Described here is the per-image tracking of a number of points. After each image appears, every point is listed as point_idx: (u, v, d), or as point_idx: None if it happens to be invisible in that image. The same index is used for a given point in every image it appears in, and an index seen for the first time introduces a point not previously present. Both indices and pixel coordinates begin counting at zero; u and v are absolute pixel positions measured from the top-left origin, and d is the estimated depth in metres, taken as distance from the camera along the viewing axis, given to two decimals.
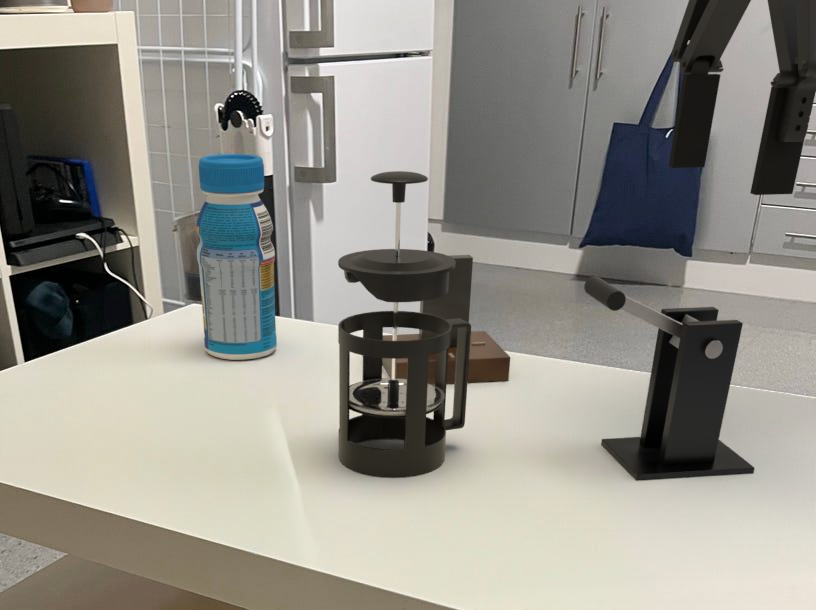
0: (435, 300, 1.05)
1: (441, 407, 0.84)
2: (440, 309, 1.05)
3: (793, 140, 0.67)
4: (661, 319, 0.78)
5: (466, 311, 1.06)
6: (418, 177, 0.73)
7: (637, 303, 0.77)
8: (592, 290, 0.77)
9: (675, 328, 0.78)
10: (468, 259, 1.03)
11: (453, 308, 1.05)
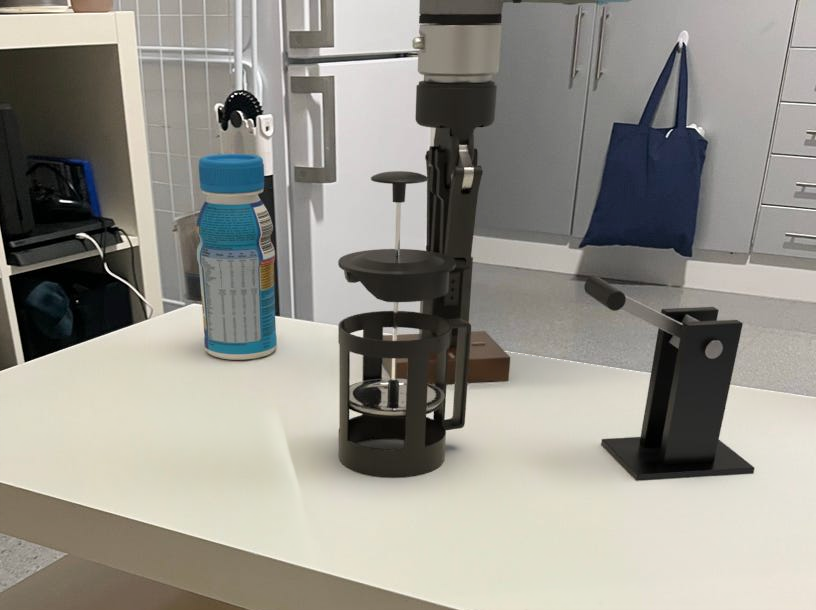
0: None
1: (441, 407, 0.84)
2: None
3: (450, 304, 1.03)
4: (661, 319, 0.78)
5: (466, 311, 1.06)
6: (418, 177, 0.73)
7: (637, 303, 0.77)
8: (592, 290, 0.77)
9: (675, 328, 0.78)
10: None
11: None
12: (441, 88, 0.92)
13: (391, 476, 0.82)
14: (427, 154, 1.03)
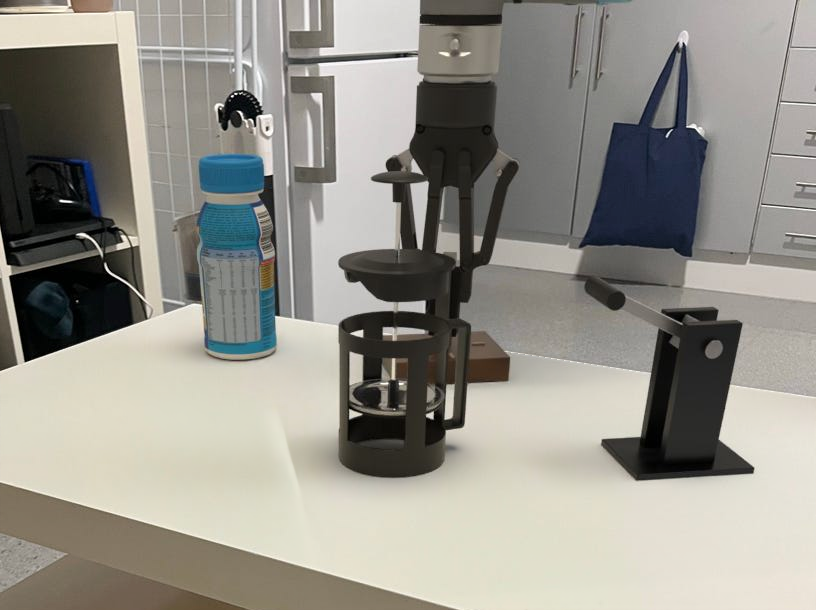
0: (450, 301, 1.04)
1: (441, 407, 0.84)
2: None
3: None
4: (661, 319, 0.78)
5: None
6: (418, 177, 0.73)
7: (637, 303, 0.77)
8: (592, 290, 0.77)
9: (675, 328, 0.78)
10: (456, 255, 1.05)
11: None
12: (485, 88, 0.93)
13: (391, 476, 0.82)
14: (394, 161, 0.98)
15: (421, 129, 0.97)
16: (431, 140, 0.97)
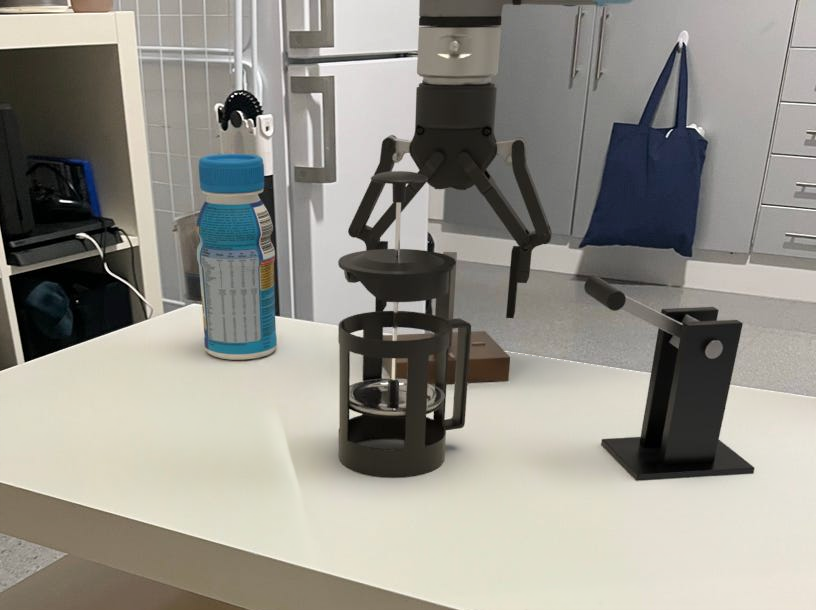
0: (450, 301, 1.04)
1: (441, 407, 0.84)
2: (450, 309, 1.05)
3: None
4: (661, 319, 0.78)
5: (453, 305, 1.08)
6: (418, 177, 0.73)
7: (637, 303, 0.77)
8: (592, 290, 0.77)
9: (675, 328, 0.78)
10: (456, 255, 1.05)
11: (452, 305, 1.06)
12: (485, 89, 0.93)
13: (391, 476, 0.82)
14: (391, 144, 0.98)
15: (421, 131, 0.97)
16: (431, 142, 0.97)
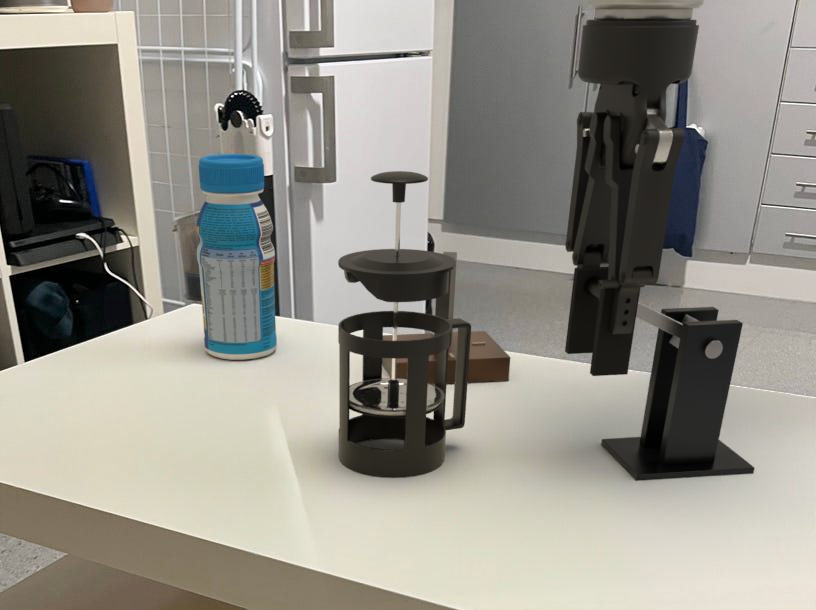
0: (450, 301, 1.04)
1: (441, 407, 0.84)
2: (450, 309, 1.05)
3: (622, 333, 0.74)
4: (661, 319, 0.78)
5: (453, 305, 1.08)
6: (418, 177, 0.73)
7: None
8: (592, 290, 0.77)
9: (675, 328, 0.78)
10: (456, 255, 1.05)
11: (452, 305, 1.06)
12: (625, 26, 0.65)
13: (391, 476, 0.82)
14: (581, 118, 0.75)
15: (602, 84, 0.72)
16: (604, 99, 0.72)
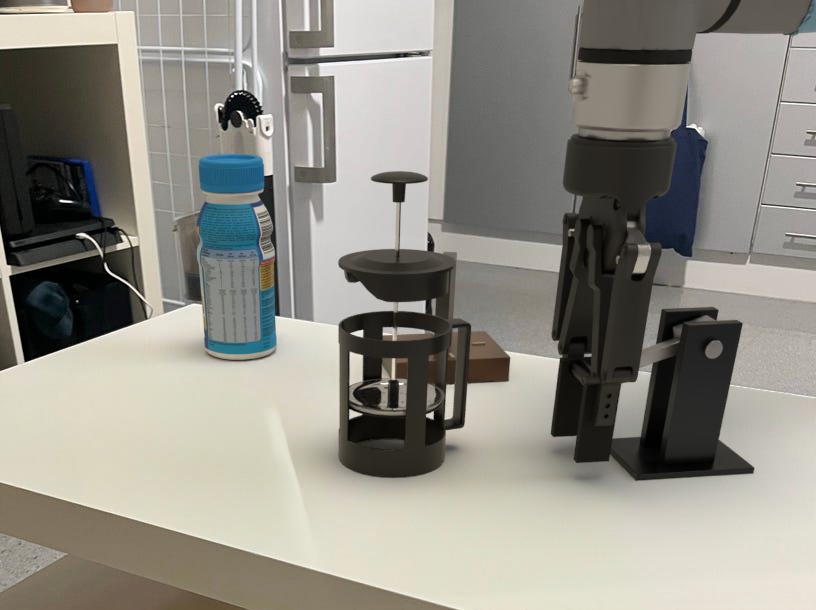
0: (450, 301, 1.04)
1: (441, 407, 0.84)
2: (450, 309, 1.05)
3: (603, 424, 0.78)
4: (651, 355, 0.79)
5: (453, 305, 1.08)
6: (418, 177, 0.73)
7: None
8: (577, 380, 0.81)
9: (670, 351, 0.79)
10: (456, 255, 1.05)
11: (452, 305, 1.06)
12: (607, 147, 0.69)
13: (391, 476, 0.82)
14: (566, 218, 0.79)
15: None
16: (587, 206, 0.75)
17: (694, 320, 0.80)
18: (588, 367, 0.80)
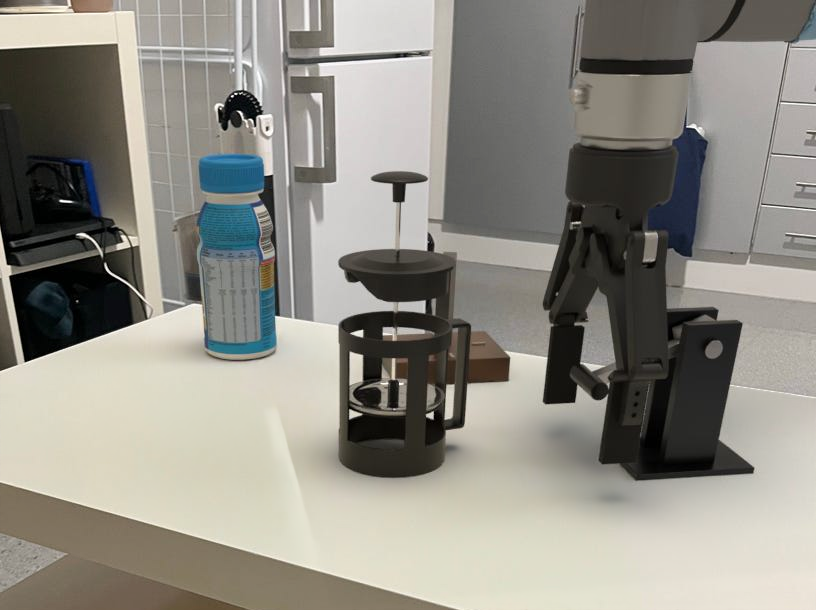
0: (450, 301, 1.04)
1: (441, 407, 0.84)
2: (450, 309, 1.05)
3: (631, 424, 0.74)
4: None
5: (453, 305, 1.08)
6: (418, 177, 0.73)
7: None
8: None
9: (670, 352, 0.79)
10: (456, 255, 1.05)
11: (452, 305, 1.06)
12: (609, 156, 0.69)
13: (391, 476, 0.82)
14: (570, 209, 0.79)
15: None
16: (590, 214, 0.76)
17: (693, 320, 0.80)
18: (589, 372, 0.80)
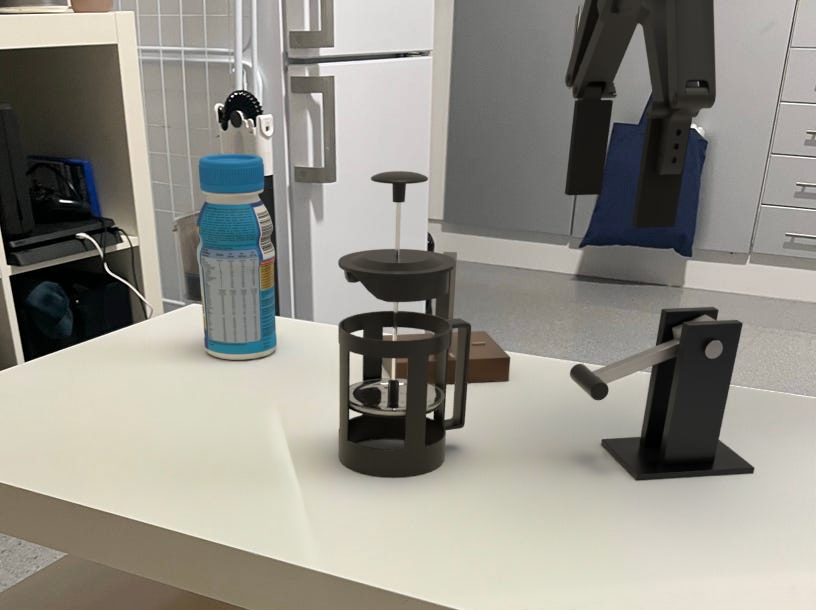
0: (450, 301, 1.04)
1: (441, 407, 0.84)
2: (450, 309, 1.05)
3: (670, 173, 0.65)
4: (652, 358, 0.80)
5: (453, 305, 1.08)
6: (418, 177, 0.73)
7: (621, 366, 0.80)
8: None
9: (670, 352, 0.79)
10: (456, 255, 1.05)
11: (452, 305, 1.06)
12: None
13: (391, 476, 0.82)
14: None
15: None
16: None
17: (693, 320, 0.80)
18: (589, 372, 0.80)
